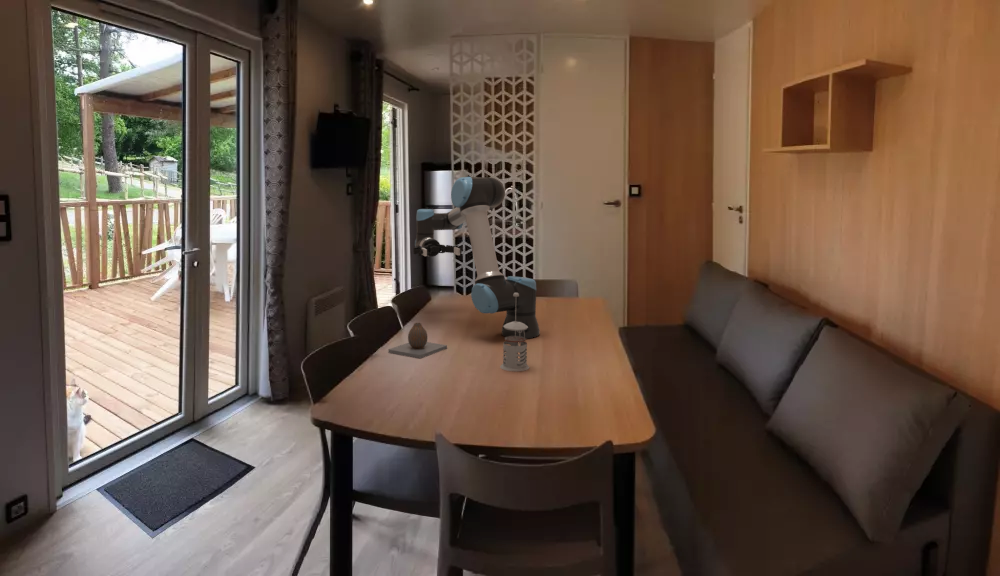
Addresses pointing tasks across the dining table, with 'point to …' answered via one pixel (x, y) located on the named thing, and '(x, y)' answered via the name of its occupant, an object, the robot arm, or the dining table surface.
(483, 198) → the robot arm
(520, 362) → the french press
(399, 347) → the slate tile
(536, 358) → the dining table surface
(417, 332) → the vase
